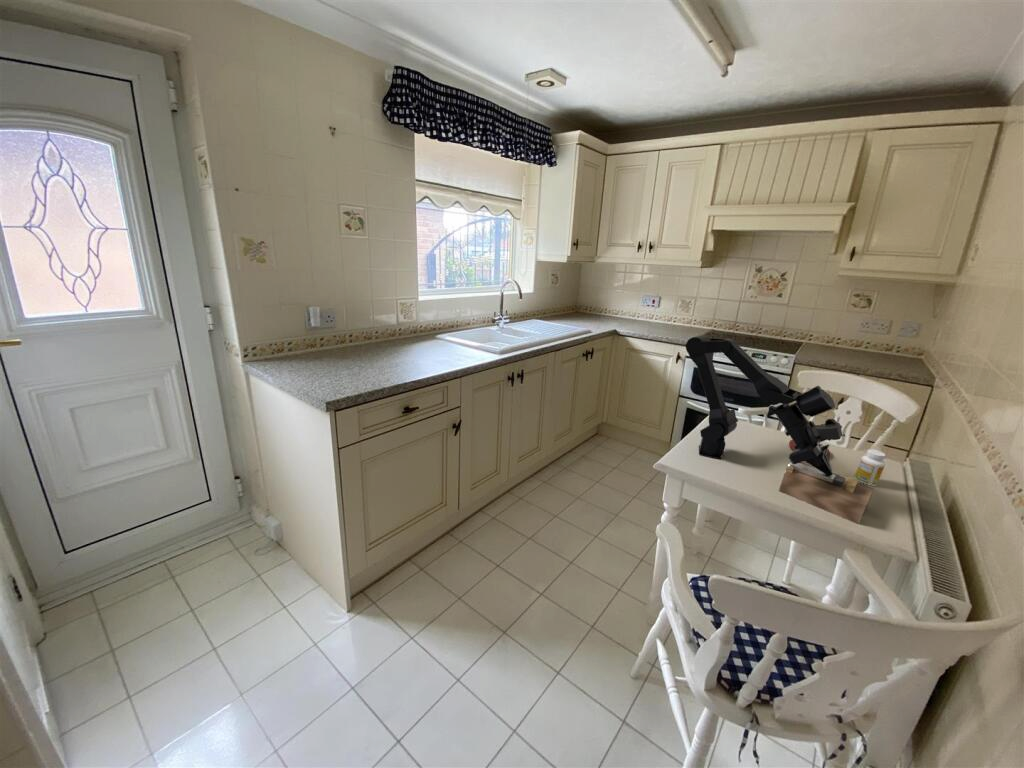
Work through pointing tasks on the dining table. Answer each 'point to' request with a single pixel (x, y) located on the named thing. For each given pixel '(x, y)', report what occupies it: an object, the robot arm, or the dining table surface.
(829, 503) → the storage box
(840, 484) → the latch lever
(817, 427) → the robot arm
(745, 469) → the dining table surface
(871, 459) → the supplement bottle
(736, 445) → the dining table surface
